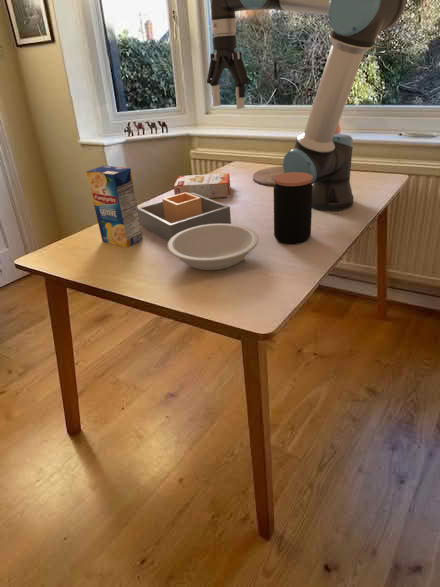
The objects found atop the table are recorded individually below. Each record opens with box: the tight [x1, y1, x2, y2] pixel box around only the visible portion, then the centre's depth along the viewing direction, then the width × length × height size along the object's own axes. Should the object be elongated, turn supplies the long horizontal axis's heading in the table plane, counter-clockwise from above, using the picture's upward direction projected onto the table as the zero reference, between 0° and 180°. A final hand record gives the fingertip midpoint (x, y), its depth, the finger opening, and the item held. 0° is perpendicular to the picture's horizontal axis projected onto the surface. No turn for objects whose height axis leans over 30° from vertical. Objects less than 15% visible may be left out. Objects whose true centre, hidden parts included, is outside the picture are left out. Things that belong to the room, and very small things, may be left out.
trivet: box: [252, 165, 284, 188], centre depth 181 cm, size 25×25×2 cm
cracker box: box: [173, 172, 231, 199], centre depth 169 cm, size 14×6×21 cm
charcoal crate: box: [137, 192, 232, 243], centre depth 141 cm, size 22×22×6 cm
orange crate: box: [161, 192, 202, 224], centre depth 140 cm, size 9×9×8 cm
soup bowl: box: [167, 223, 259, 271], centre depth 115 cm, size 24×24×7 cm
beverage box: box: [86, 165, 144, 249], centre depth 129 cm, size 7×11×22 cm, turn 57°
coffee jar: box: [273, 172, 313, 245], centre depth 123 cm, size 11×11×18 cm
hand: (228, 107), depth 148 cm, fingers open, 13 cm apart
